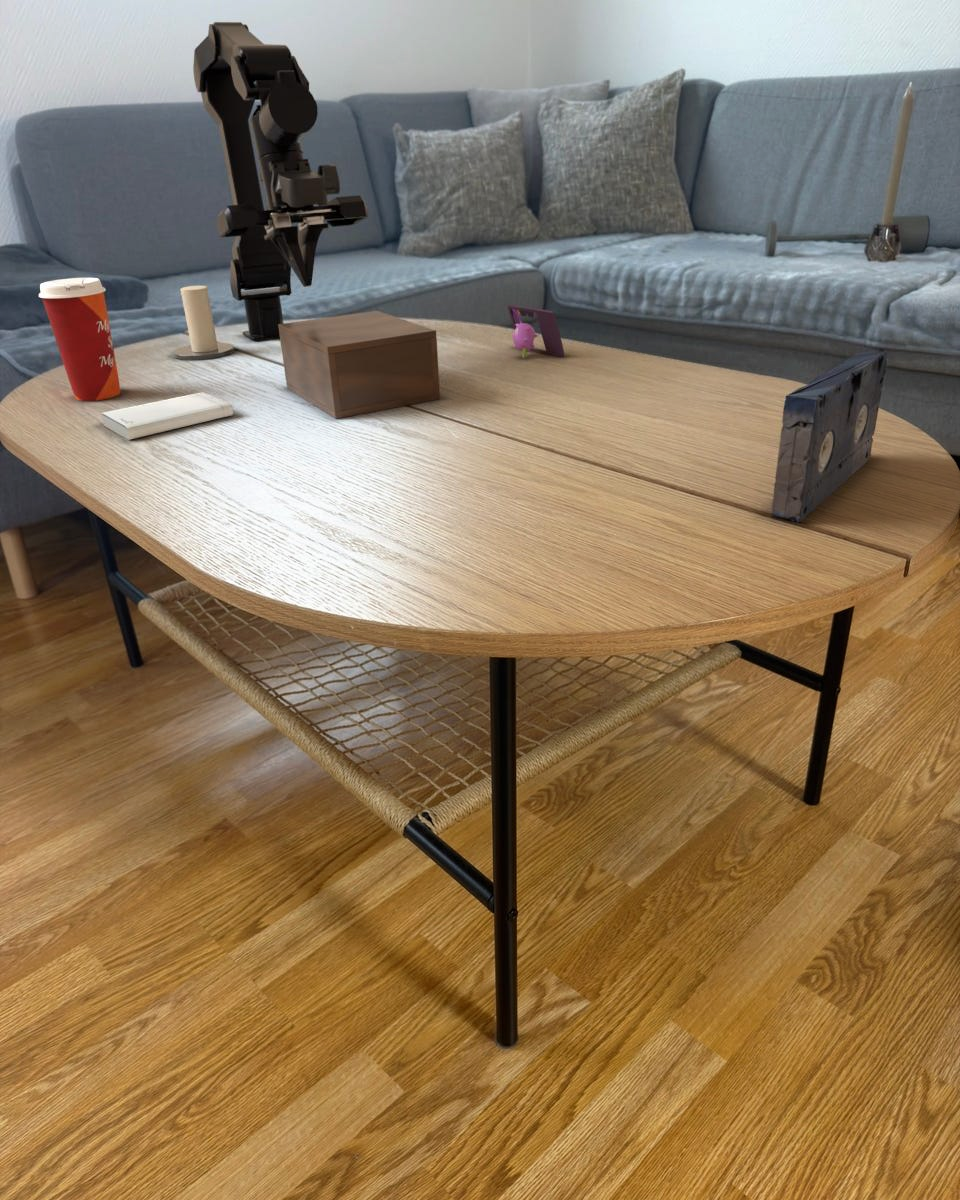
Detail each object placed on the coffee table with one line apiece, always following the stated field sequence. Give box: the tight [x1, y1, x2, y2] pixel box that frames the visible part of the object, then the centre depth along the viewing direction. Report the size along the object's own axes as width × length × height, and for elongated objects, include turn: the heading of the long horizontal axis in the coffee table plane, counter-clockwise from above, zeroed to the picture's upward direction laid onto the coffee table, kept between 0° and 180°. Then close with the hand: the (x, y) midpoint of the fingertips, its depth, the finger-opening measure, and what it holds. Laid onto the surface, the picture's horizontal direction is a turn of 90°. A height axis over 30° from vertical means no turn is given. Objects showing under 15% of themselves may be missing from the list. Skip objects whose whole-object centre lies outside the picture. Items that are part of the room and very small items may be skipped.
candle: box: [180, 285, 218, 353], centre depth 130 cm, size 4×4×9 cm
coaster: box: [172, 342, 235, 361], centre depth 133 cm, size 9×9×1 cm
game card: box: [507, 304, 566, 359], centre depth 122 cm, size 7×5×9 cm
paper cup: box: [38, 277, 121, 402], centre depth 109 cm, size 8×8×14 cm
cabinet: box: [278, 310, 441, 420], centre depth 107 cm, size 17×14×8 cm
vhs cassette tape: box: [770, 349, 888, 523], centre depth 74 cm, size 18×3×10 cm, turn 140°
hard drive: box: [100, 391, 234, 441], centre depth 101 cm, size 2×8×12 cm
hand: (307, 286), depth 114 cm, fingers closed
